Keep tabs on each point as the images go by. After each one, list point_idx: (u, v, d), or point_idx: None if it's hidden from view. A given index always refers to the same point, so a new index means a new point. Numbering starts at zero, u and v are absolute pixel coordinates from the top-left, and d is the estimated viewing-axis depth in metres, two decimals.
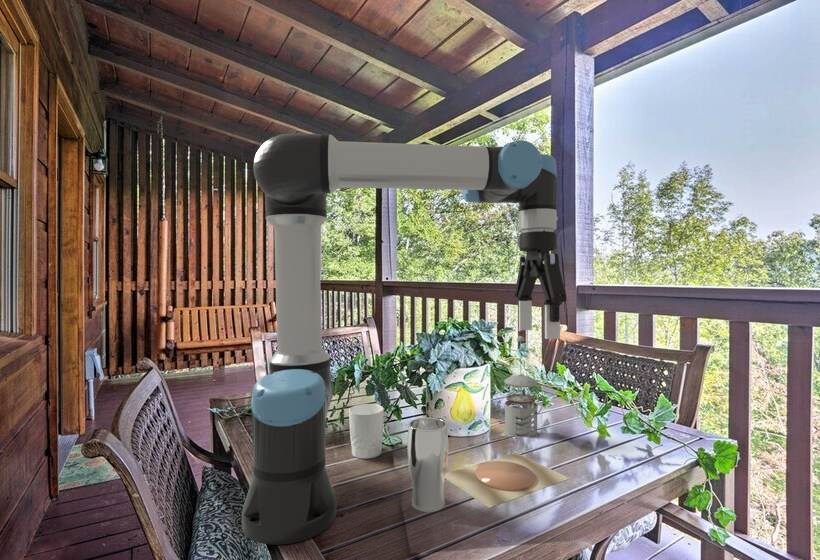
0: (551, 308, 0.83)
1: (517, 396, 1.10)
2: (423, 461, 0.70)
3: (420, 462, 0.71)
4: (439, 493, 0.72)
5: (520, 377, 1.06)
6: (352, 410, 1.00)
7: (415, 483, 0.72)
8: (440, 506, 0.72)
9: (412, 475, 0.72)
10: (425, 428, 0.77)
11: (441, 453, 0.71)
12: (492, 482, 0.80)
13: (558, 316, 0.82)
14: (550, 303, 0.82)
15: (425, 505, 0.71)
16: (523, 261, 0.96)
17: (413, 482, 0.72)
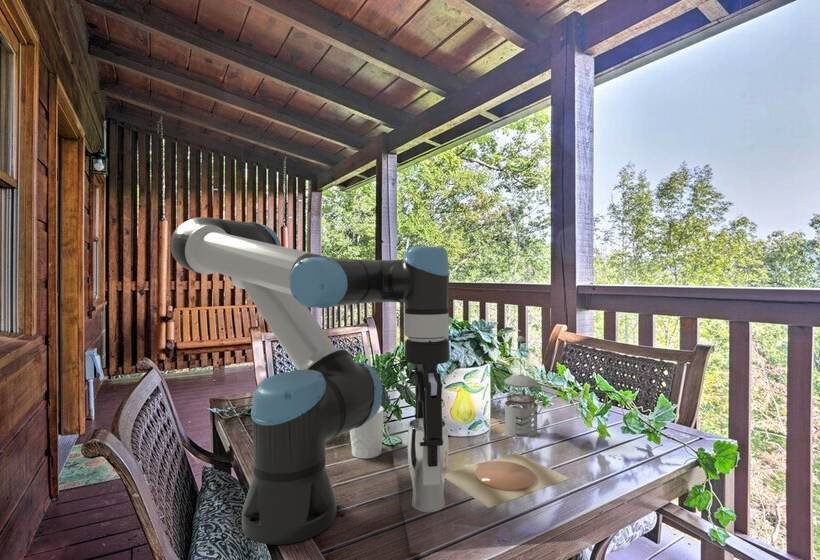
0: (428, 450, 0.69)
1: (517, 396, 1.10)
2: None
3: (420, 462, 0.70)
4: (439, 493, 0.72)
5: (520, 377, 1.06)
6: None
7: (415, 483, 0.72)
8: (440, 506, 0.72)
9: (412, 475, 0.72)
10: None
11: (441, 453, 0.71)
12: (492, 482, 0.80)
13: (436, 460, 0.69)
14: (426, 445, 0.69)
15: (425, 505, 0.71)
16: None
17: (413, 482, 0.72)
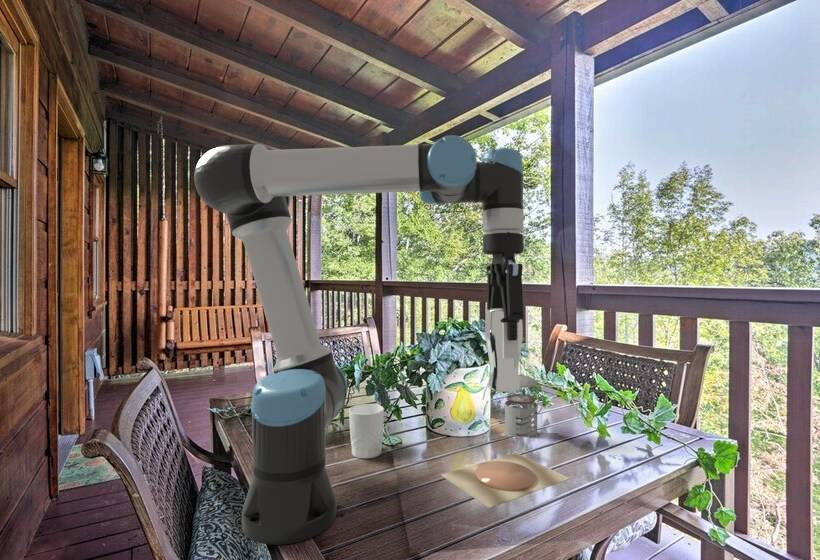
0: (508, 326, 0.78)
1: (517, 396, 1.10)
2: None
3: (500, 339, 0.79)
4: (516, 368, 0.81)
5: (520, 377, 1.06)
6: (352, 410, 1.00)
7: (493, 360, 0.81)
8: (516, 380, 0.81)
9: (491, 353, 0.81)
10: None
11: (518, 332, 0.80)
12: (492, 482, 0.80)
13: (515, 334, 0.78)
14: (507, 321, 0.78)
15: (504, 378, 0.80)
16: (490, 269, 0.88)
17: (492, 360, 0.81)
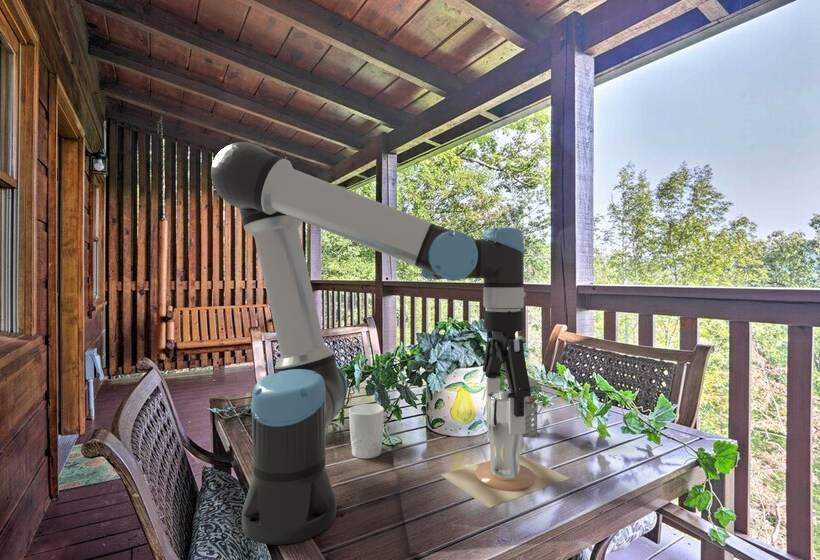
0: (515, 401, 0.75)
1: None
2: (504, 428, 0.79)
3: (501, 428, 0.80)
4: (517, 456, 0.81)
5: None
6: (352, 410, 1.00)
7: (495, 448, 0.81)
8: (517, 468, 0.81)
9: (492, 441, 0.81)
10: None
11: None
12: (492, 482, 0.80)
13: (523, 410, 0.75)
14: (514, 396, 0.75)
15: (505, 467, 0.80)
16: (490, 336, 0.88)
17: (493, 447, 0.82)
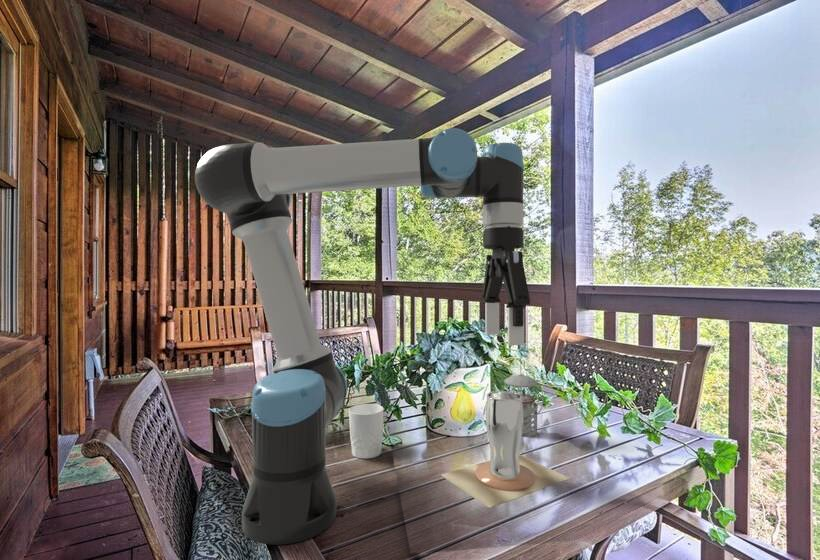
0: (514, 311, 0.75)
1: None
2: (503, 427, 0.80)
3: (500, 428, 0.80)
4: (516, 456, 0.81)
5: (520, 377, 1.06)
6: (352, 410, 1.00)
7: (494, 448, 0.81)
8: (517, 468, 0.81)
9: (492, 441, 0.81)
10: None
11: (519, 420, 0.80)
12: (492, 482, 0.80)
13: (522, 320, 0.75)
14: (513, 306, 0.74)
15: (504, 467, 0.80)
16: (489, 260, 0.88)
17: (493, 447, 0.82)
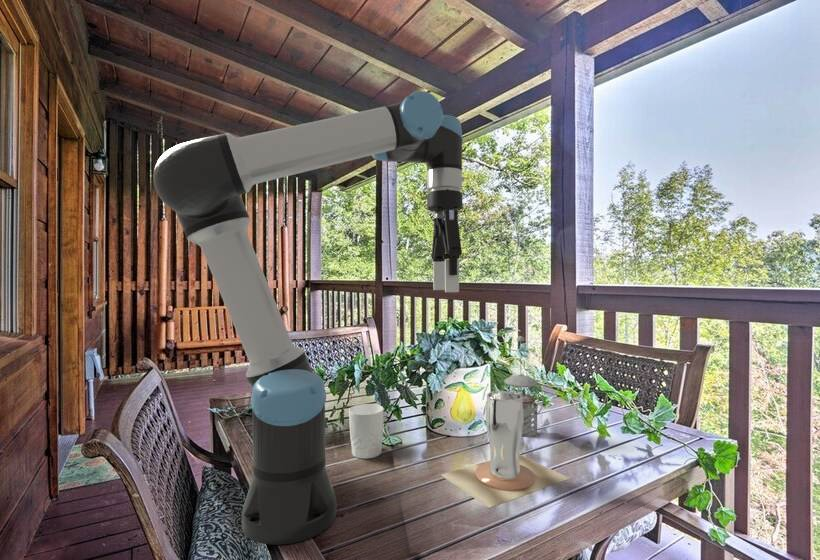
0: (449, 262, 0.85)
1: None
2: (503, 427, 0.80)
3: (501, 428, 0.80)
4: (516, 456, 0.81)
5: (520, 377, 1.06)
6: (352, 410, 1.00)
7: (494, 448, 0.81)
8: (517, 468, 0.81)
9: (492, 441, 0.81)
10: None
11: (519, 421, 0.80)
12: (492, 482, 0.80)
13: (456, 269, 0.85)
14: (448, 257, 0.85)
15: (504, 467, 0.80)
16: None
17: (493, 447, 0.82)
